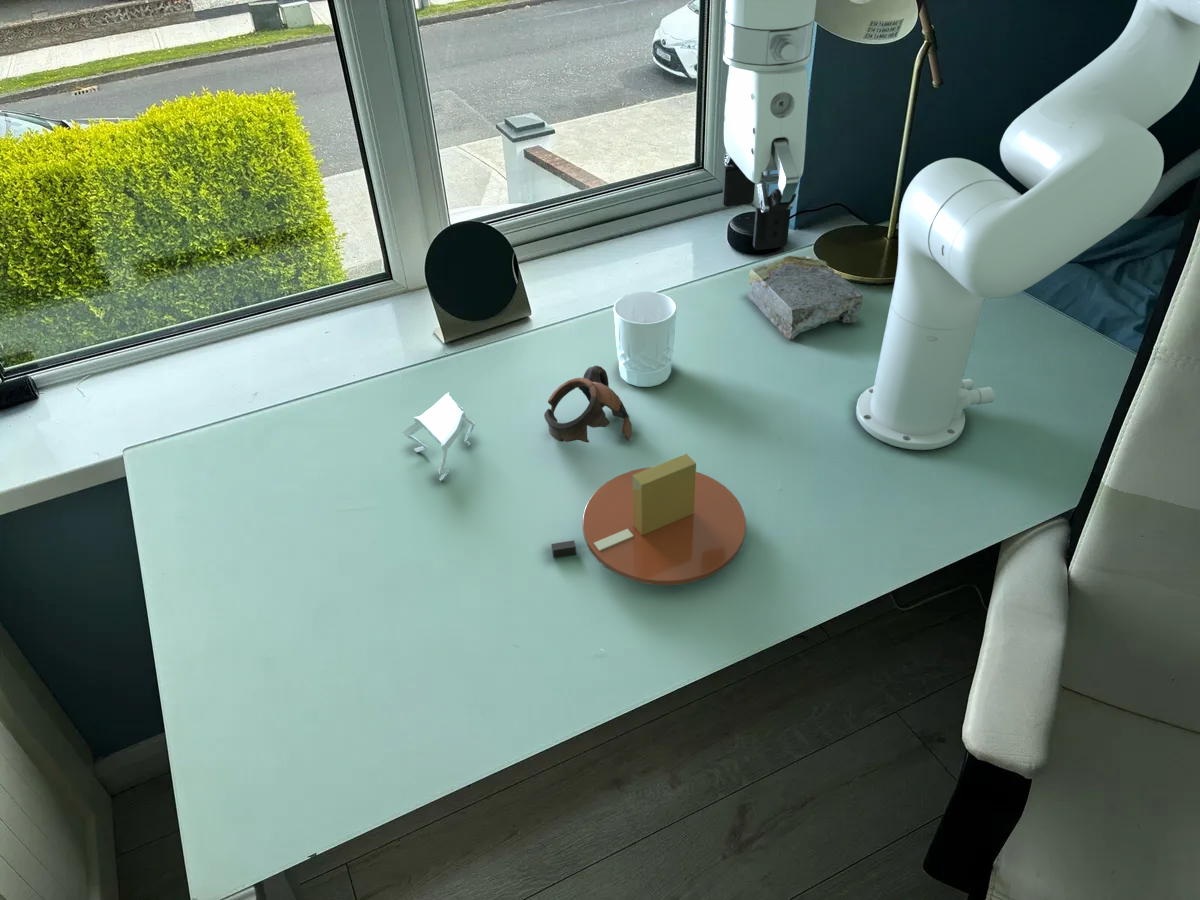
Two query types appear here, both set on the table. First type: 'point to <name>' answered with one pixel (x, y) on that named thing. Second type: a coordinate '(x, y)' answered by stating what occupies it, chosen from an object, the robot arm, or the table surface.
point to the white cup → (645, 337)
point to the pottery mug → (594, 415)
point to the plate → (671, 541)
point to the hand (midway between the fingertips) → (753, 224)
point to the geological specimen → (803, 294)
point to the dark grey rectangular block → (563, 549)
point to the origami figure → (441, 426)
